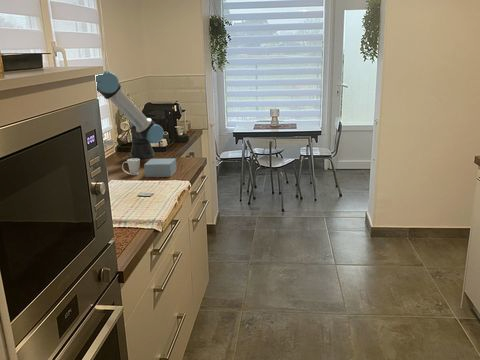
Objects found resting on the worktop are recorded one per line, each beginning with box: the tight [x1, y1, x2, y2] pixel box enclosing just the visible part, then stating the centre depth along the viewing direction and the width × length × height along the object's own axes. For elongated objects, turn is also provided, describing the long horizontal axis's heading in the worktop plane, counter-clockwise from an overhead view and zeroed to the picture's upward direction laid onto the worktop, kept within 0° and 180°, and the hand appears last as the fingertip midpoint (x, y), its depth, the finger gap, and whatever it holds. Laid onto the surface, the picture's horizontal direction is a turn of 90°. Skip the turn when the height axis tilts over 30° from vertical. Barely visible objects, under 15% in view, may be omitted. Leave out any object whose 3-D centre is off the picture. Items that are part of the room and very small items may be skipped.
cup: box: [121, 158, 141, 176], centre depth 246 cm, size 7×10×8 cm
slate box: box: [143, 157, 178, 178], centre depth 246 cm, size 15×14×7 cm
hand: (110, 144), depth 242 cm, fingers open, 13 cm apart
